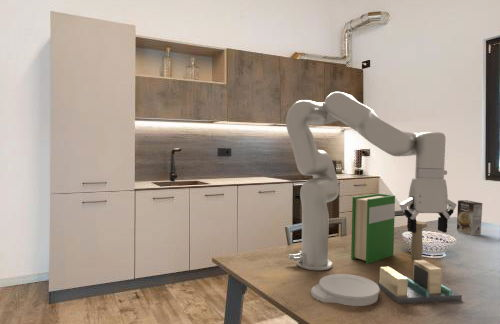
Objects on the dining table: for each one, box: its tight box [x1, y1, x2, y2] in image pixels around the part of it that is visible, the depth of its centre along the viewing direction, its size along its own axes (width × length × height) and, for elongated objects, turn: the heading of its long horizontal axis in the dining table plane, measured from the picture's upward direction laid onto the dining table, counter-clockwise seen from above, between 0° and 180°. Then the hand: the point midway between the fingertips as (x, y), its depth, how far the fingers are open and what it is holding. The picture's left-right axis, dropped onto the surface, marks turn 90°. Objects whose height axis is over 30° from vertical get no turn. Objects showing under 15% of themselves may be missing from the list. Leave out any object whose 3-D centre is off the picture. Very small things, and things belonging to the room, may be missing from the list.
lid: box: [310, 273, 381, 307], centre depth 103 cm, size 17×20×3 cm
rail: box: [377, 266, 463, 305], centre depth 104 cm, size 19×12×6 cm, turn 98°
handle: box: [410, 220, 428, 263], centre depth 133 cm, size 5×6×15 cm
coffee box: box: [456, 199, 483, 236], centre depth 178 cm, size 9×6×16 cm
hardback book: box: [350, 193, 396, 265], centre depth 138 cm, size 18×7×24 cm, turn 128°
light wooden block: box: [412, 259, 442, 294], centre depth 104 cm, size 8×4×7 cm, turn 8°
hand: (427, 231), depth 104 cm, fingers open, 9 cm apart
